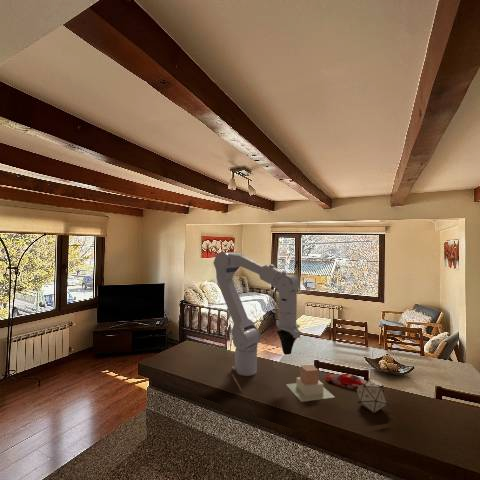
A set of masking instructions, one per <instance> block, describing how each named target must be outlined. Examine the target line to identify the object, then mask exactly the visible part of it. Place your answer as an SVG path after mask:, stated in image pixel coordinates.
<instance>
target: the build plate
mask: <svg viewBox="0 0 480 480" xmlns="http://www.w3.org/2000/svg"><path fill="white" fill-rule="evenodd" d="M285 386H287V388H288V389H289V390H290V391H291V392H292V393H293V394H294V395H295V396H296V398H297V399H298V400H299V401H300V402H302V403H303V402H304V403H305V402H310V401H318V400H325V399H332V398H336V396H334V395H333V394H332V393H331V392H330V391H329V390H328V389H327V388H325V386H323V394H320V395H312V396H305V395H304V394H303V393H302V392H301V391H300V390H299V389H298V388H297V387H296V382H295V383H294V382H293V383H288V384H285Z"/></svg>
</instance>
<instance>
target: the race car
mask: <svg viewBox="0 0 480 480" xmlns="http://www.w3.org/2000/svg"><path fill="white" fill-rule="evenodd" d="M325 381H326V382H327V383H328V384H330V385H331V384H332V385H335V386H340V387H344V388H348V389H351V390H355V389H354V387H355V388H358V387H360V386H361V385H363V384H364V383H366V382H367V381H368V380H365V379H364V378H361V377H360V376H357V375H354V374H352V373H341V374H340V373H339V374H337V373H331V374H328V375H326V377H325Z"/></svg>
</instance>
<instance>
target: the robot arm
mask: <svg viewBox="0 0 480 480" xmlns="http://www.w3.org/2000/svg"><path fill="white" fill-rule="evenodd" d="M213 265H214V269H215V275H216V282H217V284H218V286H219V289H220V292H221V294H222V297H223V300H224V302H225V305H226V308H227V309H228V312H229V315H230V317H231V320H232V323H233V326H232V328H231V331H230V332H231V335H232V343H233V345H234V347H235V350H234V366H231V369H232V371H236V373H237V374H238V375H240V376H245V377H248V376H254V375H256V374H257V371H258V370H257V368H258V367H257V365H258V345H259V342H261V339H262V335H261V331H260V330H259V328H258V327H257V326H256V324H255V322H254V321H253V320H251V319H249V317H248V315H247V313H246V310H245V308H244V305H243V302H242V299H241V297H240V295H239V293H238V289H237V288H236V285H235V282H234V280H233V277H234V276H235V274H236V272H237V271H238V270H239V269H240V267H242V268H244V269H246V270H248V271H250V272H253V273H255V274H257V275H258V276H259V279H260V280H261V281H263V282H265V283H267V284H269V285H271V286H273V287H274V288H276V290H277V292H278V319H276V320H275V326H276V327H277V328H278V329H279V330H277V331H276V333H277V336H278V337H279V341H280V344H281V349H282V353H283V354H284V355H285V356H286V355H291V354H292V350H293V347H294V343H295V341H296V339H298V338H299V339H301V330H299V328H300V324H298V323H297V313H298V312H297V306H298V305H297V304H298V303H297V302H298V301H297V298H298V297H297V296H298V294H297V293H298V291H297V290H298V289H299V288H300V279H299V277H298V276H297V275H295V274H294V273H288V274H287V271H285V270H280V269H278V268H277V267H275V265H274V264H272V263H270V264H265V265H263V264H260V263H258V262H257V261H255V260H253V259H251V258H250V257H248V256H246V255H245V254H243V253H239V252H238V251H233V252H231V251H228V252H224V251H220V252H218V253H217V254H216V255H215V257H214V260H213Z"/></svg>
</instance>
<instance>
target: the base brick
mask: <svg viewBox="0 0 480 480" xmlns="http://www.w3.org/2000/svg"><path fill="white" fill-rule="evenodd" d="M295 378H296V379H295V380H296V382H295V383H296V387H297V388H298V389H299V390H300V391H301V392H302V393H303V394H304V395H305V396H312V395H320V394H323V387H324V382H321V381H320V379H318V383H315V384H305V383H304V382H303V381H302V380H301V379H300V376H298V377H295Z"/></svg>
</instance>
